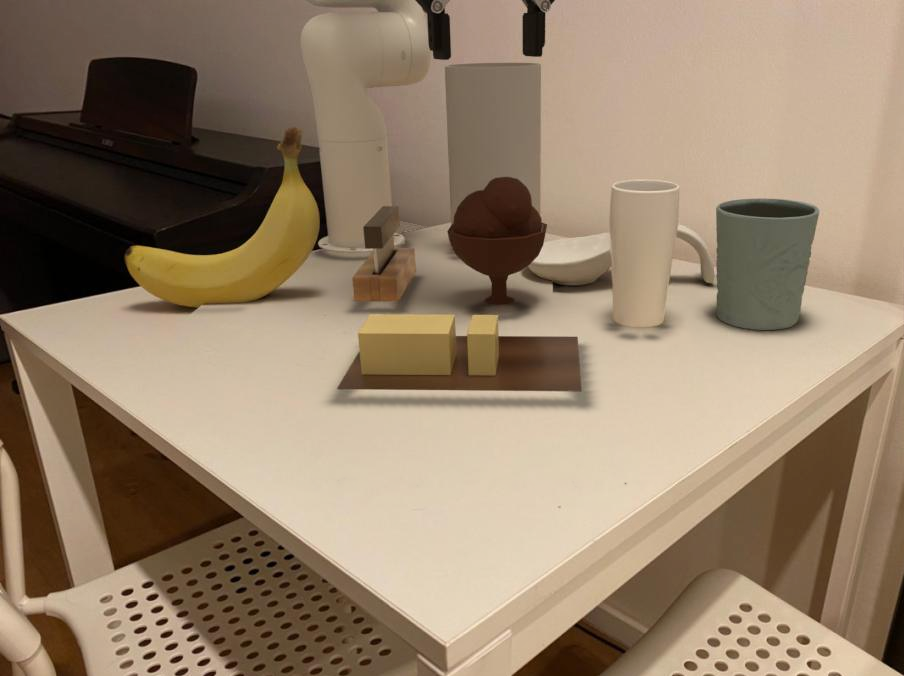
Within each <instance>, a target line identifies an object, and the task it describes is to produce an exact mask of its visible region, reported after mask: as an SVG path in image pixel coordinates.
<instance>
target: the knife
mask: <svg viewBox="0 0 904 676" xmlns="http://www.w3.org/2000/svg"><path fill="white" fill-rule="evenodd" d="M400 227H401V223H400V209H399V206H398V205H392V206H383V207H382V208H381V209H380V210H379V211H378V212H377V213H376V214H375V215H374V216H373V217H372V218H371V219H370V220H369V221H368V222H367V223H366V224H365V225H364V227H363V230H364V242H365V249H373V251H372V252H373V253H374V265H375V275H381V273H382V272H383V271H384V269H385V268H386V266H387V265H388V263H389V262H390V261H391V259H392V258H393V256H394V255H395V252H394V248H395V247H394V238H393V234H394V233H395V232H396V233H397V231H398V229H399V228H400Z"/></svg>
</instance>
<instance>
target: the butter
mask: <svg viewBox="0 0 904 676" xmlns="http://www.w3.org/2000/svg"><path fill="white" fill-rule="evenodd" d="M456 328H457V327H456V315H455V314H400V313H399V314H398V313H397V314H394V313H393V314H390V313H389V314H387V313H386V314H384V313H382V314H381V313H380V314H378V313H376V314H375V313H373V314H371V313H369V315H368V317H367V318H366V319H365V321H364V323H363V324H362V326H361V327H360V329H359V331H358V332H357V340H358V348H359V349H358V350H359V351H360V361H361V372H362V375H451V371H452V368H453V365H454V361H455V358H456V355H457V351H456V336H457V331H456V330H457V329H456Z"/></svg>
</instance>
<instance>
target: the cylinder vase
mask: <svg viewBox="0 0 904 676" xmlns="http://www.w3.org/2000/svg"><path fill="white" fill-rule="evenodd" d="M444 84H445V86H444V87H445V109H446V130H447V131H446V133H447V155H448V156H447V157H448V178H449V179H448V180H449V181H448V182H449V203H450V205H449V207H450V226H451V225H452V224H453V221H454V215H455V213H456V210H457V207H458V206H459V205H460V203H461V202H462V201H463V200H464V199H465V197H466V196H467V195H469V194H471V193H473V192H475V191H479V190H484V189H485V187H486V186H487V185H488V183H489V182H490V181H491V180H492V179H494V178H499V177H512V178H516V179H519V180H520V181H521V182H522V183H523V184H524V185H525V186H526V187H527V188H528V190H529V192H530V194H531V200H532V206H533V207H534V208H535V209H536V210H537V211H538V213H539V214H540V215H541V199H542V197H541V193H542V192H541V191H542V189H541V188H542V186H541V181H542V180H541V178H542V177H541V175H542V174H541V172H542V167H541V165H542V164H541V161H542V158H541V154H542V152H541V150H542V144H541V143H542V141H541V140H542V129H541V128H542V63H538V62H537V63H536V62H476V63H475V62H474V63H455V64H446V65H444ZM451 248H452V247H451ZM452 250H453V248H452Z"/></svg>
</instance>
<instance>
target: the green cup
mask: <svg viewBox="0 0 904 676" xmlns="http://www.w3.org/2000/svg"><path fill="white" fill-rule="evenodd" d="M819 215H820V209H819V208H818V207H817V206H816V205H814V204H811V203H808V202H805V201H799V200H792V199H783V198H741V199H734V200H727V201H723V202H721V203H719V204H717V206H716V208H715V218H716V220H715V221H716V222H715V224H716V228H715V229H716V230H715V231H716V260H715V263H716V264H715V265H716V290H717V294H716V316H717V318H718V319H719V320H720V321H722V322H723V323H725V324H728V325H730V326H733V327H736V328H740V329H741V328H742V329H746V330H752V331H753V330H754V331H776V330H777V331H778V330H785V329H790V328H791V327H793V326H795V325H796V324H797V323H798V320H799V318H800V314H801V308H802V301H803V295H804V292H805V287H806V283H807V276H808V273H809V272H808V271H809V266H810V258H811V257H812V246H813V243H814V240H815V236H816V235H815V234H816V231H817V225H818V220H819Z"/></svg>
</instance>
